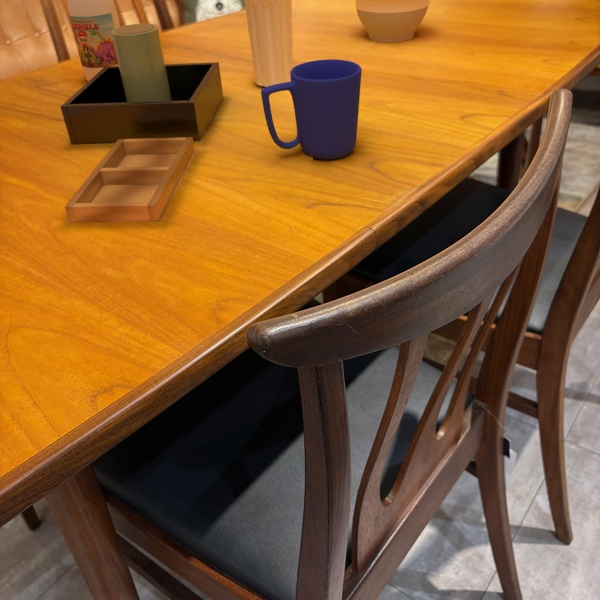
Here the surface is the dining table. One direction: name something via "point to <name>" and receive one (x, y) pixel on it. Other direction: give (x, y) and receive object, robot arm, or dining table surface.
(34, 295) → the dining table surface
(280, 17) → the cup
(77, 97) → the dark brown open box
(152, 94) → the tumbler
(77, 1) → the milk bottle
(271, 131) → the mug
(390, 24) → the bowl
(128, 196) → the divided wooden tray
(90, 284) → the dining table surface
